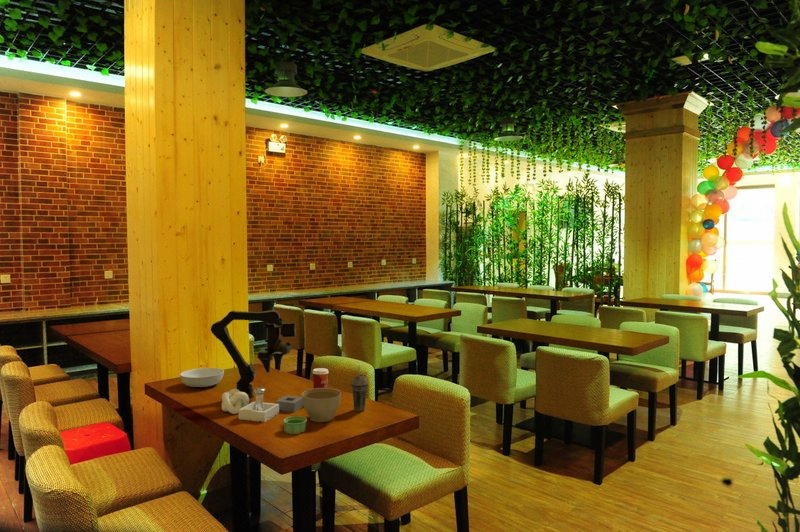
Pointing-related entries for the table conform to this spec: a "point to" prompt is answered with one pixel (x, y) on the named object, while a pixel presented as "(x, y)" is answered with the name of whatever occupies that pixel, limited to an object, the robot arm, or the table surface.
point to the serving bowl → (202, 377)
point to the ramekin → (295, 424)
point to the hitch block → (290, 403)
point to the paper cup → (320, 377)
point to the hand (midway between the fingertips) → (272, 370)
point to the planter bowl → (321, 403)
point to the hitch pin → (259, 398)
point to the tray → (258, 412)
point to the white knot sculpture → (234, 401)
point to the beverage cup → (359, 391)
